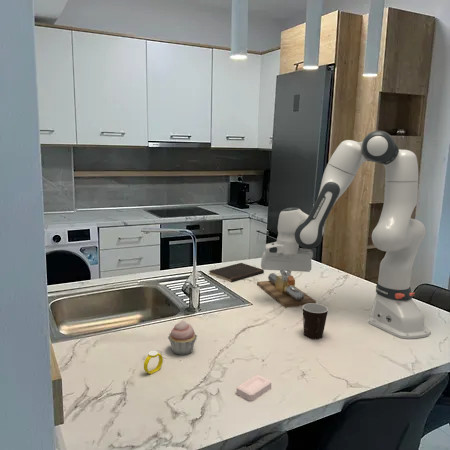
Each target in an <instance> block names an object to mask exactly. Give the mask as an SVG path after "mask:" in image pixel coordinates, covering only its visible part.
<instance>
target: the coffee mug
mask: <svg viewBox="0 0 450 450" xmlns="http://www.w3.org/2000/svg"><path fill="white" fill-rule="evenodd" d="M328 311H329V307H327V306H326V305H324V304H320V303H308V304H305V305H303V306H302V324H303V336H304V337H305V338H307V339H309V340H310V339H311V340H320V339H322V338H323V336H324V331H325V325H326V322H327V316H328Z"/></svg>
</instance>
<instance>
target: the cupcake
mask: <svg viewBox="0 0 450 450" xmlns="http://www.w3.org/2000/svg"><path fill="white" fill-rule="evenodd" d="M197 337H198V335H197V334H196V332H195V330H194V327H193V326H192V324H189V323H187V322H186V321H184V320H181V321H180V322H178V323H176V324H175V325H174V327H173V328H171V332H169V333H168V336H167V339H168V340H169V342H170V346H171V350H172V352H173V353H174V354H176V355H180V356H181V355H183V356H186V355H189V354H191V353H192V352H193V350H194V345H195V343H196V341H197Z"/></svg>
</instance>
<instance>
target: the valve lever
mask: <svg viewBox="0 0 450 450" xmlns="http://www.w3.org/2000/svg"><path fill="white" fill-rule="evenodd" d="M283 274H285V276H286V275H287V271H284V273H283ZM287 282H288V284H289V285H296V279H295V278H294V276H293V275H292V273H291V274H290V275H289V277H288V281H287Z"/></svg>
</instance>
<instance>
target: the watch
mask: <svg viewBox="0 0 450 450" xmlns="http://www.w3.org/2000/svg"><path fill="white" fill-rule="evenodd" d="M157 357H158V363H157V365H156V366H155V368H152V369H151V370H148V369H149V368H148V366H149V363H150V360H151V359H153V358H157ZM163 361H164V357H163V356H162V354H161V353H159V352H158V351H157V350H150V351H149V352H148V355H147V357H146V358H145V359H144V362H143V370H144V372H145V373H147V374H148V375H153V374H155V373H156V372H158V371H160V369H161V368H162V366H163V363H164V362H163Z"/></svg>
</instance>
